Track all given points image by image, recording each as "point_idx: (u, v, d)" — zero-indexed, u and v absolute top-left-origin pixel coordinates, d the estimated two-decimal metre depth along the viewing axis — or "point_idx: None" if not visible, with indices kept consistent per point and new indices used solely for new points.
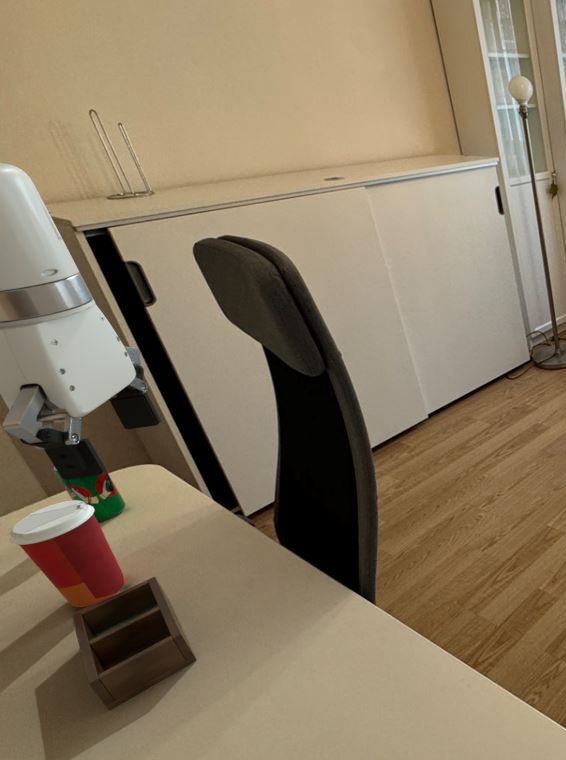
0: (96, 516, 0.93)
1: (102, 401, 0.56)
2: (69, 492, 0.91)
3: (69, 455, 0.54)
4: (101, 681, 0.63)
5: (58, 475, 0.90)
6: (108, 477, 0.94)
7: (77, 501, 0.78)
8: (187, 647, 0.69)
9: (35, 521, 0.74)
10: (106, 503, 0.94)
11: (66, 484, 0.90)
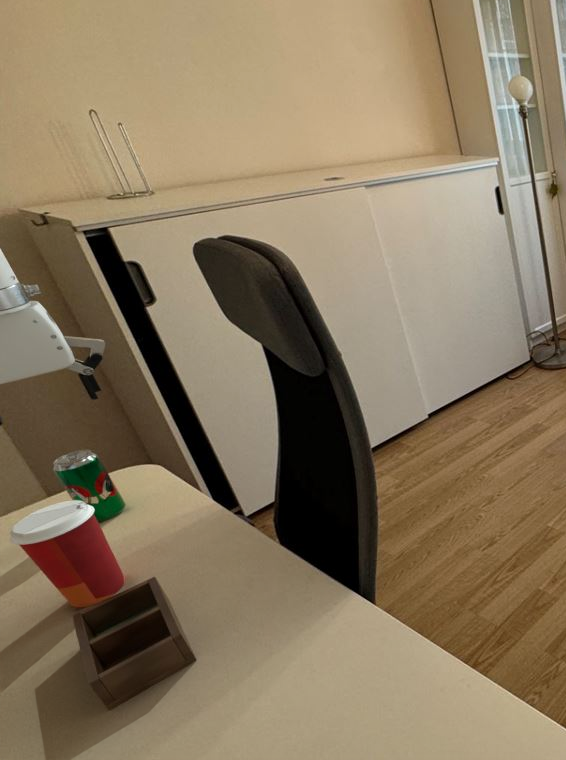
0: (96, 516, 0.93)
1: (10, 379, 0.78)
2: (69, 492, 0.91)
3: None
4: (101, 681, 0.63)
5: (58, 475, 0.90)
6: (108, 477, 0.94)
7: (77, 501, 0.78)
8: (187, 647, 0.69)
9: (35, 521, 0.74)
10: (106, 503, 0.94)
11: (66, 484, 0.90)
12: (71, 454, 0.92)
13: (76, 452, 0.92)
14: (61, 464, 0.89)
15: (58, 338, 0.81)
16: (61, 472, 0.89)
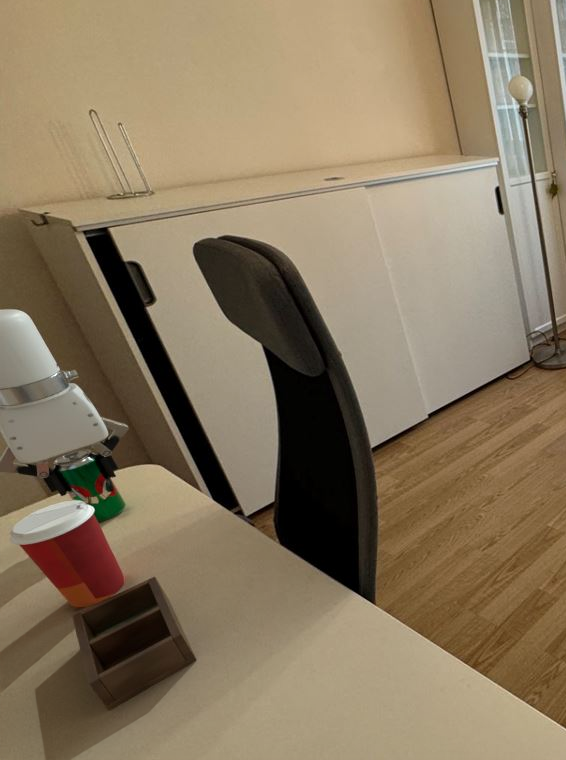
0: (96, 516, 0.93)
1: (53, 455, 0.88)
2: (69, 492, 0.91)
3: (45, 481, 0.89)
4: (101, 681, 0.63)
5: (58, 475, 0.90)
6: (108, 477, 0.95)
7: (77, 501, 0.78)
8: (187, 647, 0.69)
9: (35, 521, 0.74)
10: (106, 503, 0.94)
11: (66, 484, 0.90)
12: (71, 454, 0.92)
13: (76, 452, 0.92)
14: (61, 464, 0.89)
15: (94, 416, 0.91)
16: (61, 472, 0.89)
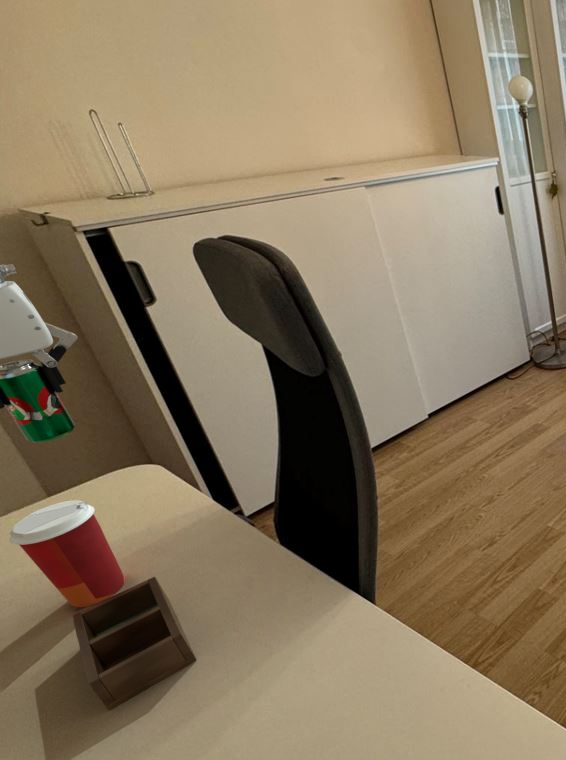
0: (40, 435, 0.83)
1: None
2: (7, 405, 0.80)
3: None
4: (101, 681, 0.63)
5: None
6: (54, 392, 0.84)
7: (77, 501, 0.78)
8: (187, 647, 0.69)
9: (35, 521, 0.74)
10: (52, 421, 0.83)
11: (3, 396, 0.79)
12: (10, 363, 0.81)
13: (16, 362, 0.82)
14: None
15: (36, 318, 0.80)
16: None
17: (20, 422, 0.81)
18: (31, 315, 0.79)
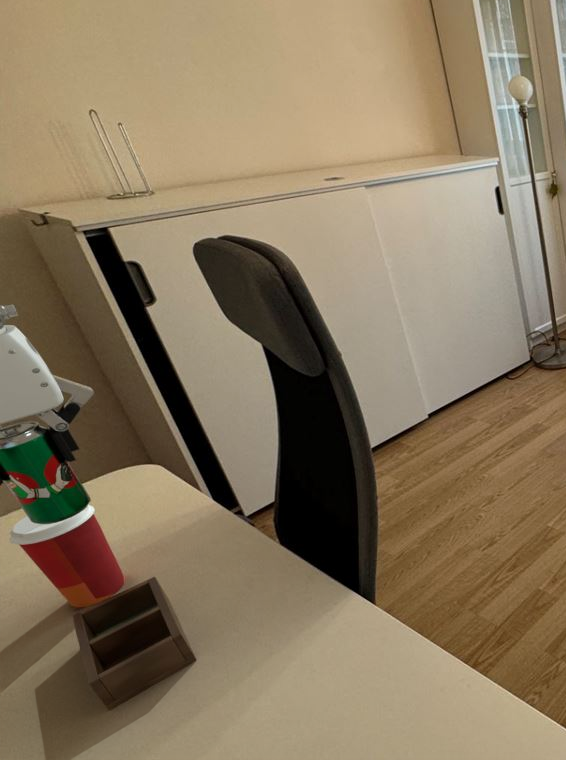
0: (47, 516, 0.66)
1: None
2: (6, 481, 0.64)
3: None
4: (101, 681, 0.63)
5: None
6: (64, 461, 0.67)
7: None
8: (187, 647, 0.69)
9: None
10: (62, 497, 0.67)
11: (1, 470, 0.63)
12: (10, 427, 0.65)
13: (17, 425, 0.65)
14: None
15: (42, 372, 0.63)
16: None
17: (22, 501, 0.65)
18: (36, 368, 0.63)
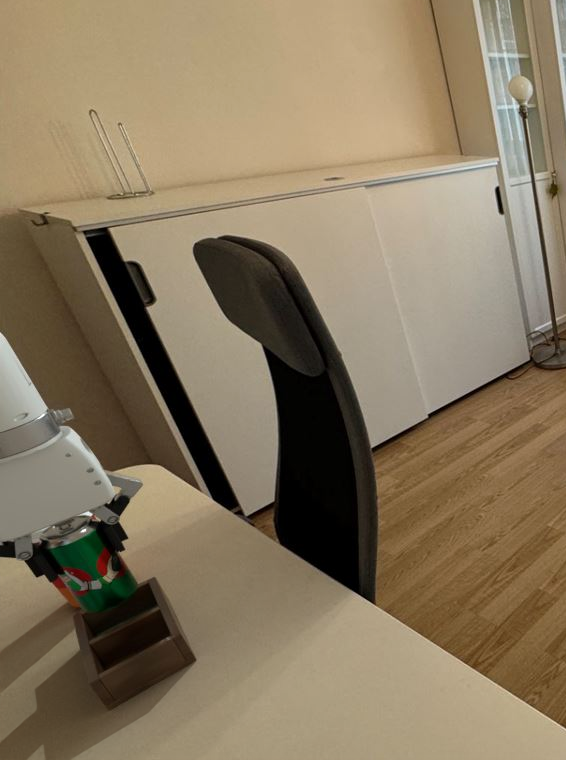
0: (98, 606, 0.68)
1: (39, 528, 0.63)
2: (61, 576, 0.66)
3: (27, 564, 0.64)
4: (101, 681, 0.63)
5: (46, 554, 0.65)
6: (115, 551, 0.69)
7: None
8: (187, 647, 0.69)
9: None
10: (112, 587, 0.69)
11: (57, 566, 0.65)
12: (64, 522, 0.67)
13: (71, 519, 0.67)
14: (50, 539, 0.64)
15: (96, 471, 0.65)
16: (50, 550, 0.64)
17: (76, 593, 0.67)
18: (90, 468, 0.65)
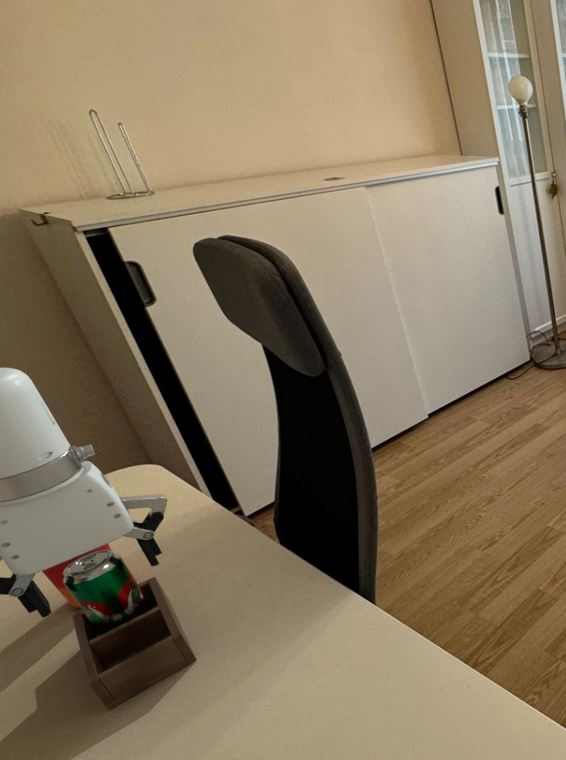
0: None
1: (61, 561, 0.65)
2: (84, 610, 0.68)
3: (20, 600, 0.64)
4: (101, 681, 0.63)
5: (69, 589, 0.67)
6: (135, 584, 0.72)
7: None
8: (187, 647, 0.69)
9: None
10: None
11: (80, 600, 0.68)
12: (87, 557, 0.69)
13: (93, 554, 0.70)
14: (74, 575, 0.67)
15: (116, 505, 0.68)
16: (73, 586, 0.67)
17: (98, 626, 0.69)
18: (110, 502, 0.67)
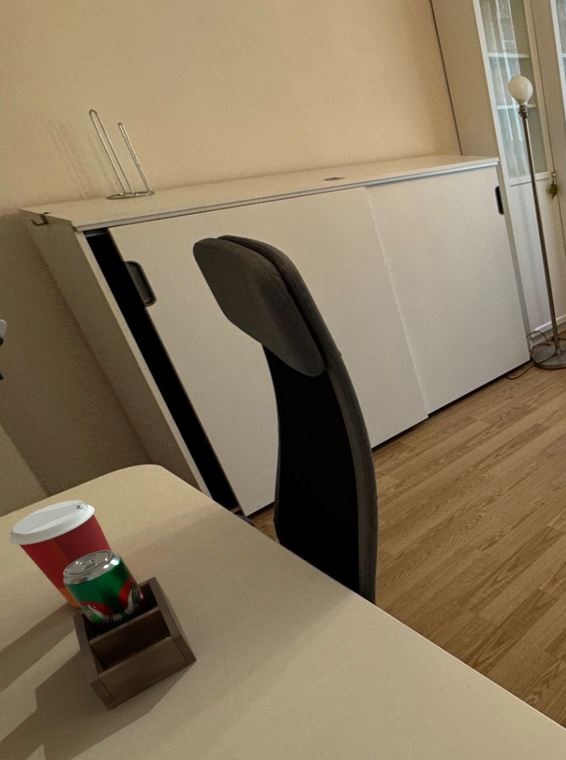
0: None
1: None
2: (84, 610, 0.68)
3: None
4: (101, 681, 0.63)
5: (70, 589, 0.67)
6: (135, 584, 0.72)
7: (77, 501, 0.78)
8: (187, 647, 0.69)
9: (35, 521, 0.74)
10: None
11: (80, 600, 0.68)
12: (87, 557, 0.69)
13: (93, 554, 0.70)
14: (74, 575, 0.67)
15: None
16: (74, 586, 0.67)
17: (98, 626, 0.69)
18: None
